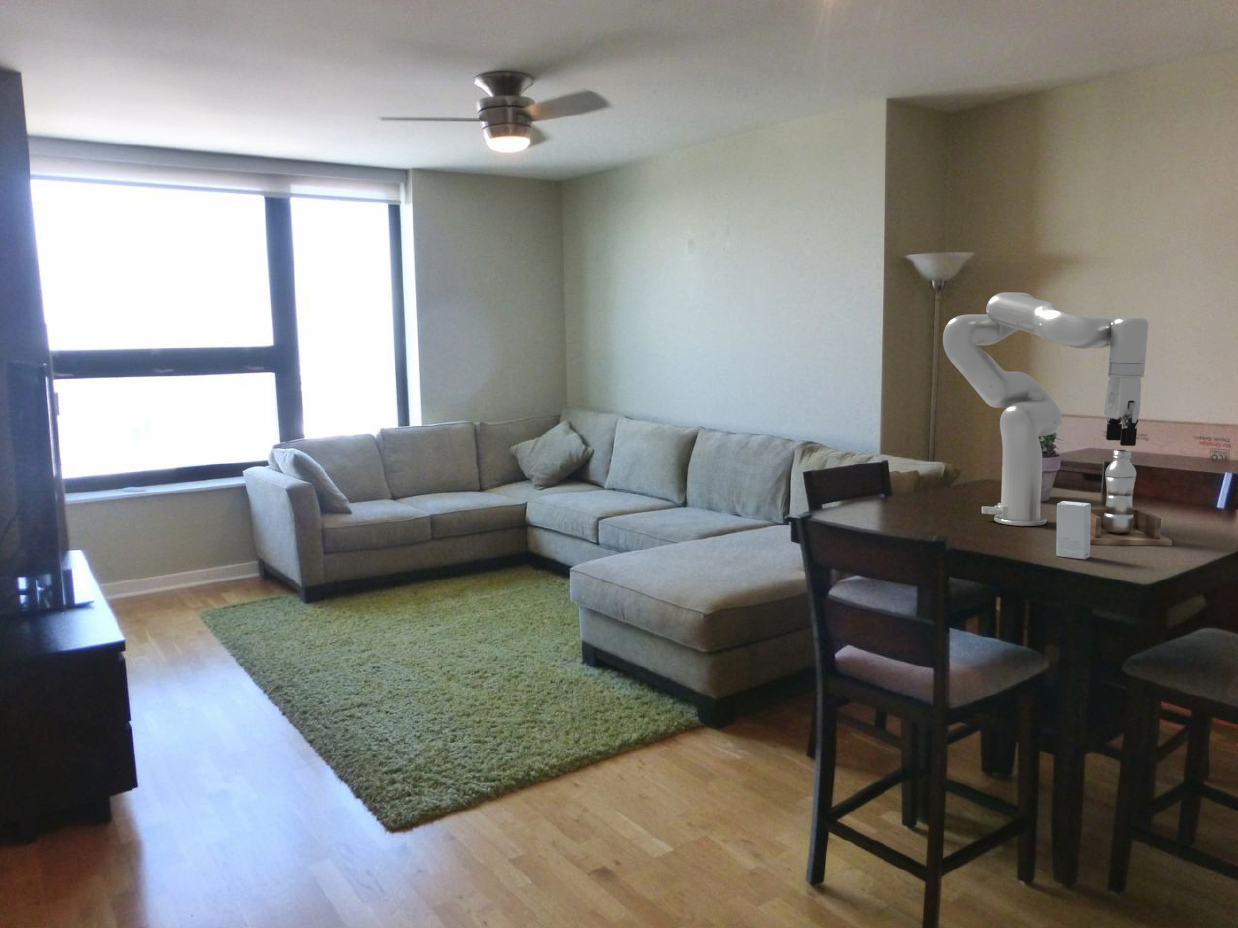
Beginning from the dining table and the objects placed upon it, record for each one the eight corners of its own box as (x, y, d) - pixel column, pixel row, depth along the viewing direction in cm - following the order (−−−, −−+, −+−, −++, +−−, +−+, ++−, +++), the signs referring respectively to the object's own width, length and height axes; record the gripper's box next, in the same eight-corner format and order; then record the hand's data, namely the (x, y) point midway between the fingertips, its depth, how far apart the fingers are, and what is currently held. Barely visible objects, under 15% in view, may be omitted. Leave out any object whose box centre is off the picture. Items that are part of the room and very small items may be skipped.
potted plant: (1042, 507, 262) (1045, 420, 259) (985, 497, 279) (988, 415, 276) (1082, 500, 271) (1086, 416, 268) (1025, 492, 288) (1028, 412, 285)
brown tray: (1087, 544, 215) (1088, 519, 214) (1067, 530, 231) (1068, 506, 230) (1171, 545, 212) (1173, 520, 211) (1145, 531, 228) (1146, 507, 227)
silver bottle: (1137, 536, 217) (1142, 452, 214) (1106, 535, 219) (1111, 451, 216) (1128, 530, 223) (1133, 449, 221) (1098, 529, 225) (1102, 448, 222)
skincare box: (1090, 556, 203) (1093, 502, 202) (1084, 560, 200) (1086, 505, 199) (1061, 552, 208) (1063, 500, 206) (1054, 556, 204) (1056, 502, 203)
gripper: (1097, 368, 225) (1091, 438, 227) (1121, 372, 208) (1115, 447, 211) (1130, 368, 223) (1124, 438, 226) (1157, 373, 207) (1151, 448, 209)
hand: (1120, 442), depth 218 cm, fingers open, 9 cm apart
